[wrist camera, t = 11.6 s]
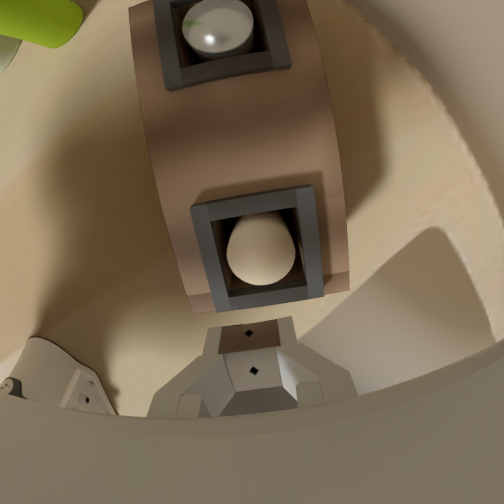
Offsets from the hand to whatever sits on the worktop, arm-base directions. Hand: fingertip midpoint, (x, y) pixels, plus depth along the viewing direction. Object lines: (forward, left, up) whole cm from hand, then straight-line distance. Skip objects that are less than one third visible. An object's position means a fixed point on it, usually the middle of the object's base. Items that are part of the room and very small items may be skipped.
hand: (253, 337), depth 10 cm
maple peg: (0, 0, -15) cm, 15 cm away
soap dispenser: (+27, +17, -18) cm, 36 cm away
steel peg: (+14, 0, -15) cm, 21 cm away
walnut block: (+7, 0, -17) cm, 19 cm away
